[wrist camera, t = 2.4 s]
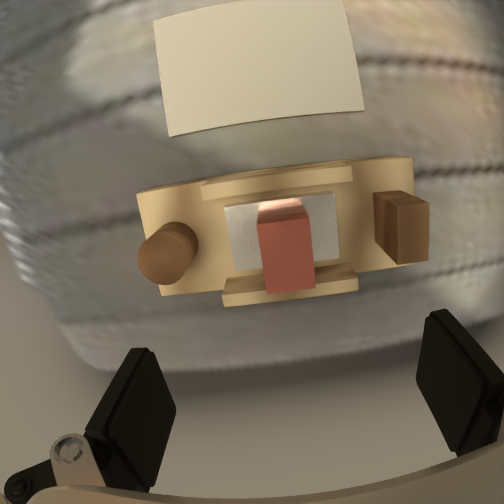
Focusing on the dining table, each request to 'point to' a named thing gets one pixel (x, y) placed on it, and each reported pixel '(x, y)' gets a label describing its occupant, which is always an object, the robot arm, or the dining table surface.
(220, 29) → the mat
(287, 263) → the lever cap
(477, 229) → the dining table surface
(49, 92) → the dining table surface
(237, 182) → the body
